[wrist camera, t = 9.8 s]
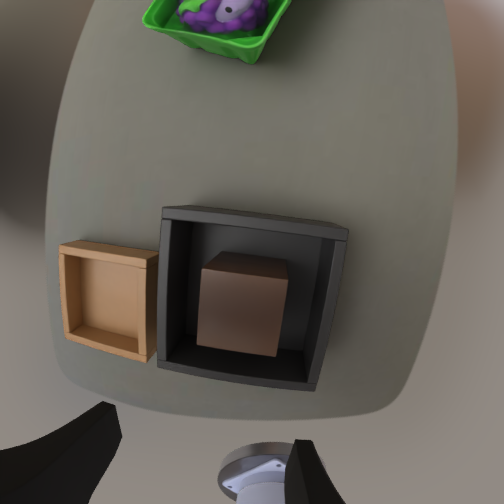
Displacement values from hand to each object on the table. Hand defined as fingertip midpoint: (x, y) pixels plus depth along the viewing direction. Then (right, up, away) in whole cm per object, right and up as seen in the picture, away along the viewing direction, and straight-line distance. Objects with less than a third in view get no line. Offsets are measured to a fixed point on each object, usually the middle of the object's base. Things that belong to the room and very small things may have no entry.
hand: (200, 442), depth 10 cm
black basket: (+2, +5, +10) cm, 11 cm away
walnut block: (+2, +5, +9) cm, 11 cm away
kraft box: (-8, +4, +11) cm, 14 cm away
